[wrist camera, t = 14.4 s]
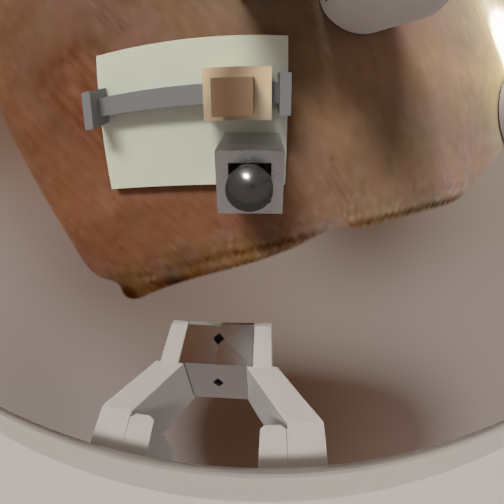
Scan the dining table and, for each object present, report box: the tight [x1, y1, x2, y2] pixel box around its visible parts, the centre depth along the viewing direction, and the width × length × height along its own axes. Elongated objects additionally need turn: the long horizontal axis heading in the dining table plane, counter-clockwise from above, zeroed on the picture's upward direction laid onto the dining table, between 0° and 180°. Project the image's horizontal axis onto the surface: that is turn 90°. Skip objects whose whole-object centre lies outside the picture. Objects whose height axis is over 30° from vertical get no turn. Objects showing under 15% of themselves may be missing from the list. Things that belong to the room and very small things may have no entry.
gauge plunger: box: [225, 163, 273, 212], centre depth 26 cm, size 4×4×8 cm
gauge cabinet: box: [214, 132, 285, 214], centre depth 28 cm, size 5×6×9 cm
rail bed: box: [81, 35, 292, 189], centre depth 27 cm, size 20×16×5 cm
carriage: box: [202, 66, 272, 121], centre depth 23 cm, size 6×5×8 cm
